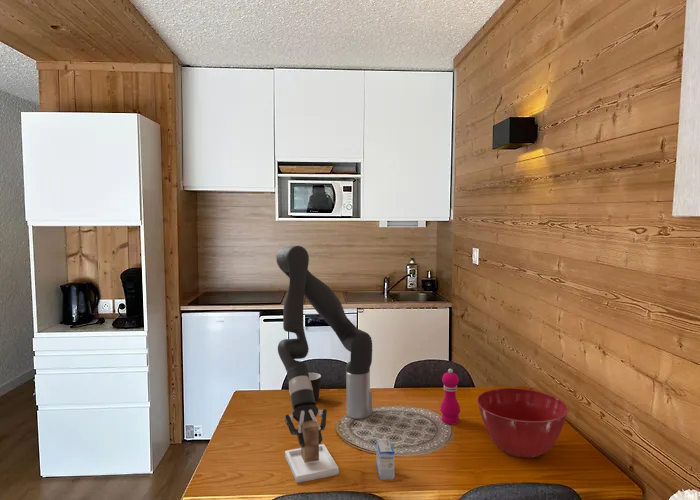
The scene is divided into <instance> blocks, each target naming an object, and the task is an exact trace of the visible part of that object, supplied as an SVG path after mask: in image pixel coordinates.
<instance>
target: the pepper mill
mask: <svg viewBox="0 0 700 500" xmlns="http://www.w3.org/2000/svg"><path fill="white" fill-rule="evenodd" d="M453 371H454V370H453V369H452V368H449V369H448V370H447V372H445V373H443V375H442V378H441V380H442V383H443V391H444V397H443V400H442V402H441V403H440V412H441V421H442V422H443V423H444V424H447V425H456V424H458V423H459V422H460V418H459V417H460V416H459V415H460V414H461V407H460V404H459V401H458V399H457V391H458V384H459V382H460V381H459V380H460V379H459V376H458V375H457V374H456V373H455V372H453Z"/></svg>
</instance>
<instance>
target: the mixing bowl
mask: <svg viewBox="0 0 700 500" xmlns="http://www.w3.org/2000/svg"><path fill="white" fill-rule="evenodd" d="M476 404H477V405H478V409H479V412H480V416H481V419H482V422H483V425H484V426H485V429H486V431H487V434H488V435H489V437H490V438H491V441H492V442H493V444H494V445H496V446H497V447H498V448H500V450H502V451H504V453H507V454H508V455H511V456H514V457H517V458H523V459H525V458H526V459H528V458H529V459H531V458H532V459H533V458H537V457H541V455H542V456H543V455H545V454H546V453H547V452H549V451H550V450H552V448H553V447H554V446H555V444H556V441H557V440H558V438H559V436H560V435H561V432H562V430H563V427H564V425H565V422H566V420H567V415H568V414H569V412H570V407H569V406H568V404H567V403H566V402H565V401H564V400H561V399H560V398H558V397H556V396H554V395H552V394H548V393H546V392H542V391H538V390H533V389H528V388H519V387H518V388H517V387H504V388H503V387H502V388H494V389H489V390H486V391H484V392H482V393H480V394H479V395H477V398H476Z"/></svg>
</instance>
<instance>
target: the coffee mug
mask: <svg viewBox="0 0 700 500" xmlns="http://www.w3.org/2000/svg"><path fill="white" fill-rule="evenodd" d="M308 374H309V378H310V381H311V384H312V389H313V394H314V399H315V403H316V402H319V399H320V391H321V377H322V375H321V374H320V373H316V372H308Z"/></svg>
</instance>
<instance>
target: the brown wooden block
mask: <svg viewBox="0 0 700 500" xmlns="http://www.w3.org/2000/svg"><path fill="white" fill-rule="evenodd" d="M318 424H319V423H318ZM318 424H317V423H316V421H313V420H311V421H305V422H303V423H301V426H302V433H303V438H304V443H305V446H304V447H303V448H302V447H301V446H300V448H301V456H302V458H303V460H304V462H305V463H308V462H313V461H319V426H320V425H319V426H318Z"/></svg>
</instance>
